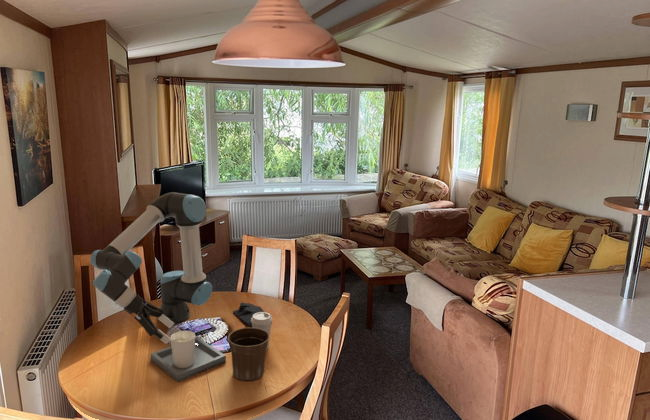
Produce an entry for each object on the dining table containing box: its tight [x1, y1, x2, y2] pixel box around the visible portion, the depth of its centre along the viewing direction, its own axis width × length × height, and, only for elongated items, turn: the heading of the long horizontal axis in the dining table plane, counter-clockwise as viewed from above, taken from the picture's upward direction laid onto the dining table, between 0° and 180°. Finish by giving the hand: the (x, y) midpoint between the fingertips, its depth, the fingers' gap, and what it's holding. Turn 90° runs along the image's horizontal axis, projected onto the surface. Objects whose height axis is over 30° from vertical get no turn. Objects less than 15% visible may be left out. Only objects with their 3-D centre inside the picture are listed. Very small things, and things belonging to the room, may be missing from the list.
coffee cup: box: [251, 311, 274, 350], centre depth 213 cm, size 10×10×15 cm
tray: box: [150, 336, 227, 383], centre depth 200 cm, size 22×22×3 cm
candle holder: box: [169, 330, 196, 368], centre depth 196 cm, size 10×10×12 cm
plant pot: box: [227, 327, 270, 381], centre depth 192 cm, size 16×16×16 cm
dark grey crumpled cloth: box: [232, 302, 273, 326], centre depth 243 cm, size 15×22×5 cm
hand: (170, 333), depth 196 cm, fingers open, 13 cm apart
